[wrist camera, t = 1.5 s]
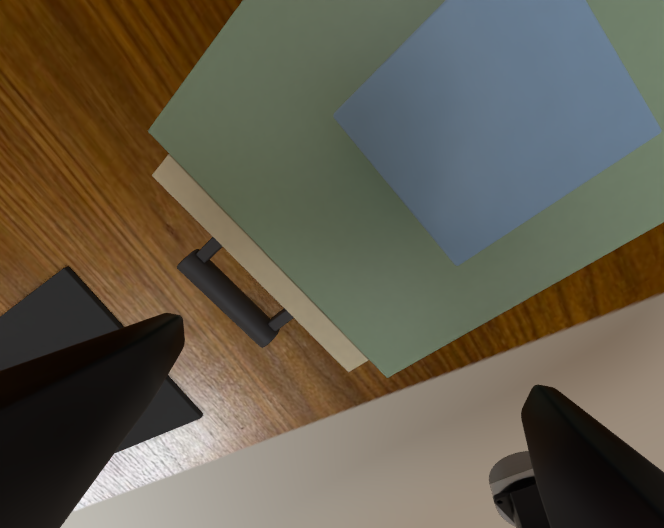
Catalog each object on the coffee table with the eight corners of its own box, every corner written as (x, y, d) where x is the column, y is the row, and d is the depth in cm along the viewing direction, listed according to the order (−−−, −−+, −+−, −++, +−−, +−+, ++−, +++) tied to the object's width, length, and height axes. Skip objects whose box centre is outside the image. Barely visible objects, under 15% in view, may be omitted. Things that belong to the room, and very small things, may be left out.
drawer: (311, 332, 23) (283, 412, 16) (185, 206, 20) (97, 243, 14) (572, 149, 16) (690, 166, 10) (429, -68, 14) (464, -223, 8)
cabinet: (387, 284, 21) (387, 378, 13) (246, 127, 19) (146, 130, 11) (628, 116, 16) (862, 111, 8) (476, -135, 13) (600, -496, 6)
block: (555, 127, 9) (665, 131, 6) (433, 218, 11) (456, 268, 7) (470, 1, 8) (535, -92, 5) (351, 117, 10) (331, 115, 6)
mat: (203, 414, 29) (201, 418, 28) (50, 477, 37) (46, 481, 36) (68, 265, 25) (63, 268, 24) (-72, 373, 32) (-78, 375, 32)
